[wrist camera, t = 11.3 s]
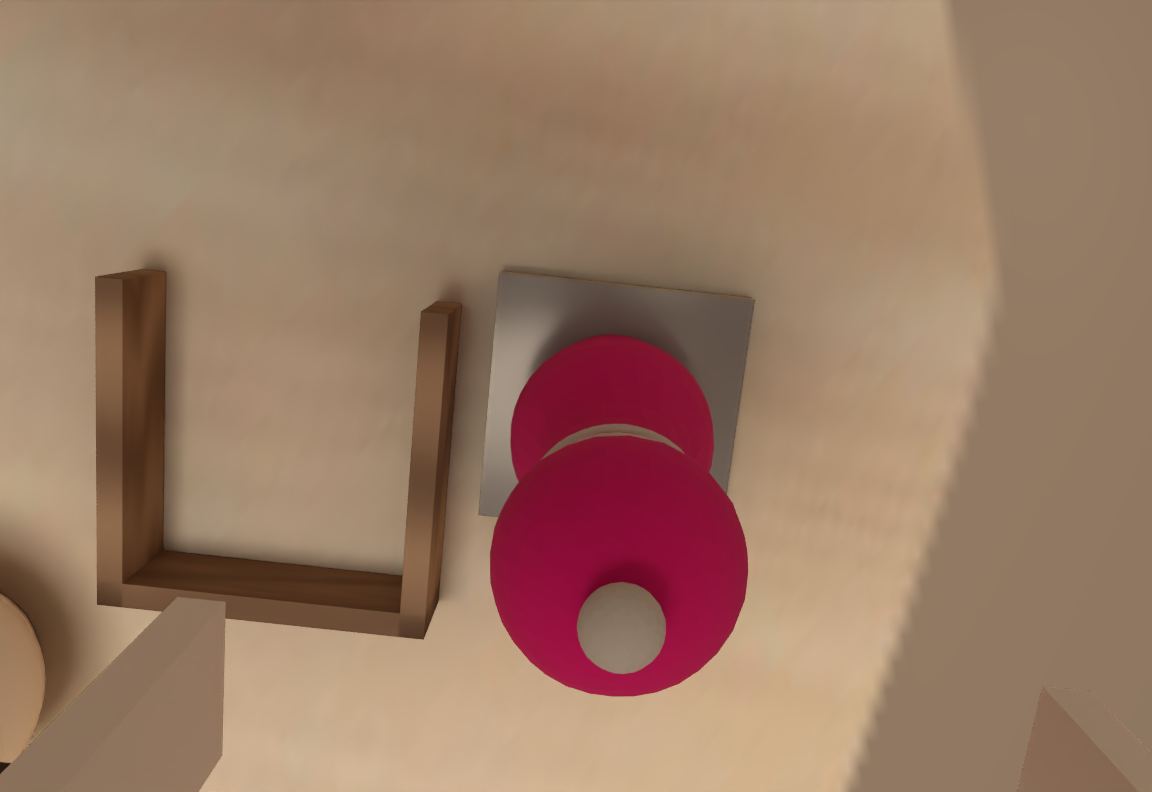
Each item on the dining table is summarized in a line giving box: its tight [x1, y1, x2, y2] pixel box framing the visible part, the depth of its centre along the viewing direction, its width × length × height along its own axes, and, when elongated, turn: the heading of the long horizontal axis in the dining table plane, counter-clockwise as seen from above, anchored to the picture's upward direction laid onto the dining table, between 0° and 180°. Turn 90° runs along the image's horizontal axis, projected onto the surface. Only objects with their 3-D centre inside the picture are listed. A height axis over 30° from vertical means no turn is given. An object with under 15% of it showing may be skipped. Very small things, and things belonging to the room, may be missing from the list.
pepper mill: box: [490, 334, 748, 696], centre depth 27 cm, size 7×7×20 cm
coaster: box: [478, 271, 755, 517], centre depth 38 cm, size 10×10×1 cm
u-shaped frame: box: [95, 269, 462, 639], centre depth 37 cm, size 13×13×4 cm
